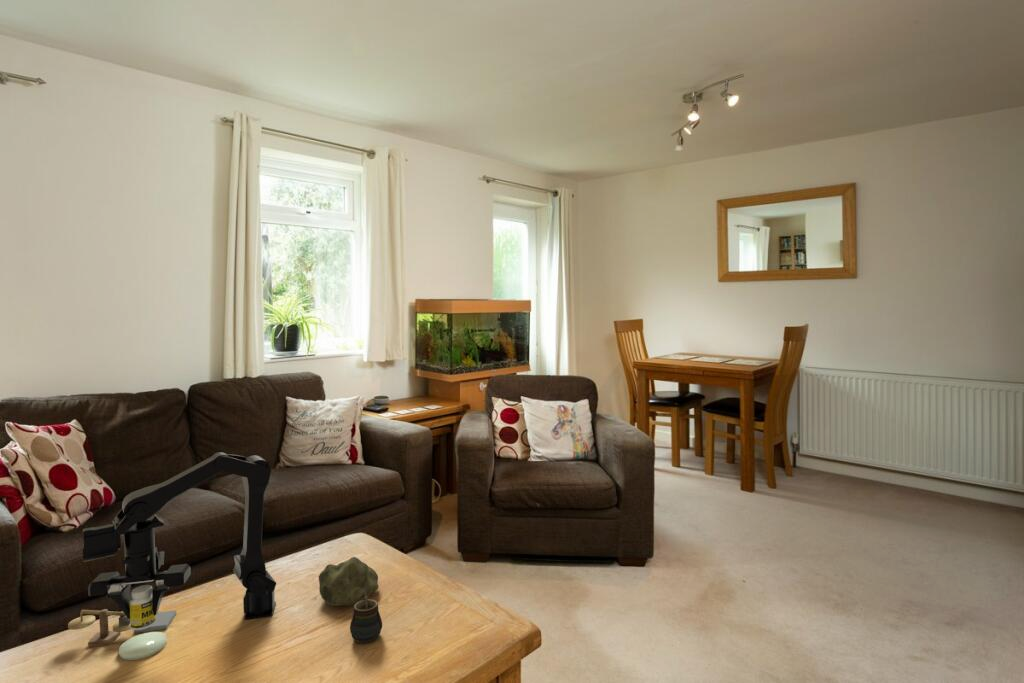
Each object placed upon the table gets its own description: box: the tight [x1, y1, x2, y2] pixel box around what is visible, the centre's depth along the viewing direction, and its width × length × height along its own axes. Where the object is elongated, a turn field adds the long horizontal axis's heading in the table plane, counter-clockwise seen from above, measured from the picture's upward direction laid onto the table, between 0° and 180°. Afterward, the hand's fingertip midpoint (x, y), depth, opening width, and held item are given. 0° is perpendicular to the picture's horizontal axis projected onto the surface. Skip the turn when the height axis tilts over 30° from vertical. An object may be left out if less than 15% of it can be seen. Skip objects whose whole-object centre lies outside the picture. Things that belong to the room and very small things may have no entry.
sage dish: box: [118, 631, 168, 661], centre depth 127 cm, size 9×9×1 cm
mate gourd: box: [349, 589, 383, 644], centre depth 131 cm, size 7×8×10 cm
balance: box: [67, 608, 132, 648], centre depth 130 cm, size 14×5×8 cm, turn 105°
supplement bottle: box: [130, 584, 155, 631], centre depth 127 cm, size 5×5×8 cm
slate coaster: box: [133, 609, 177, 634], centre depth 137 cm, size 7×7×1 cm
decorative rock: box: [318, 556, 379, 607], centre depth 150 cm, size 15×16×10 cm
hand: (142, 616), depth 127 cm, fingers closed on supplement bottle, 5 cm apart
